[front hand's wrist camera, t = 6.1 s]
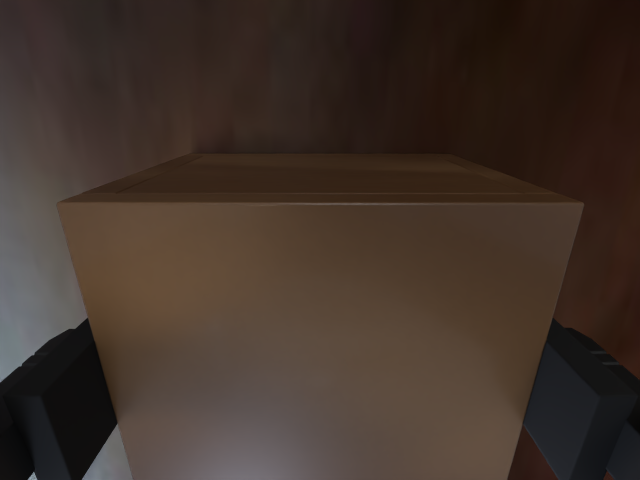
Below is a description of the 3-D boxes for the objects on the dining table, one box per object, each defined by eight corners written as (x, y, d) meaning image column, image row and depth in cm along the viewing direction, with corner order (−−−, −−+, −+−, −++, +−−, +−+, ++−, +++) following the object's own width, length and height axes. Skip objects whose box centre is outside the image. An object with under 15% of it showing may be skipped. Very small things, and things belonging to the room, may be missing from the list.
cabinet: (408, 471, 21) (455, 664, 14) (231, 471, 21) (183, 664, 14) (451, 153, 15) (587, 202, 7) (189, 153, 15) (54, 202, 7)
